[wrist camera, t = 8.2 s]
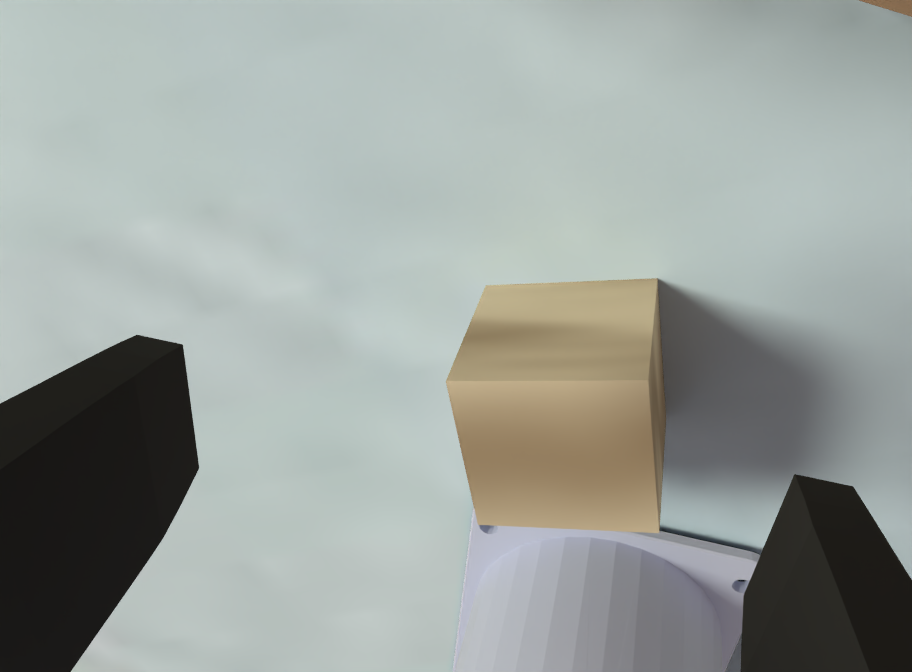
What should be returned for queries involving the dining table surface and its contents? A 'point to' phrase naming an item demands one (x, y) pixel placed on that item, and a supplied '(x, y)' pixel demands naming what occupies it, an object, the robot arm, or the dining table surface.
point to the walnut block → (893, 5)
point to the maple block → (563, 405)
